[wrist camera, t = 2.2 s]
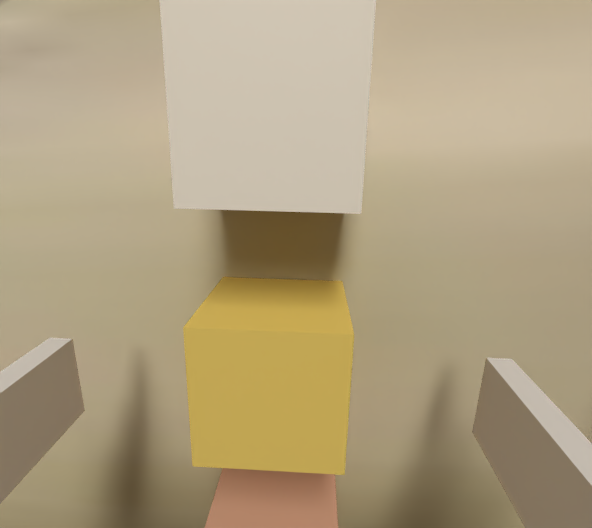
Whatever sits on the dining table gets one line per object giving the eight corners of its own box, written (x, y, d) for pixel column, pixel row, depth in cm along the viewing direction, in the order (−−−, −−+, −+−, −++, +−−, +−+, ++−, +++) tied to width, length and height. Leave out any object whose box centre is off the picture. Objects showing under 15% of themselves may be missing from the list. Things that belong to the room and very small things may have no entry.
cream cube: (345, 195, 15) (361, 213, 10) (219, 192, 15) (173, 208, 10) (354, 52, 13) (376, -8, 8) (215, 51, 13) (159, -9, 9)
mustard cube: (336, 385, 17) (344, 475, 12) (227, 380, 17) (192, 466, 12) (341, 280, 16) (354, 334, 11) (223, 276, 16) (183, 327, 11)
